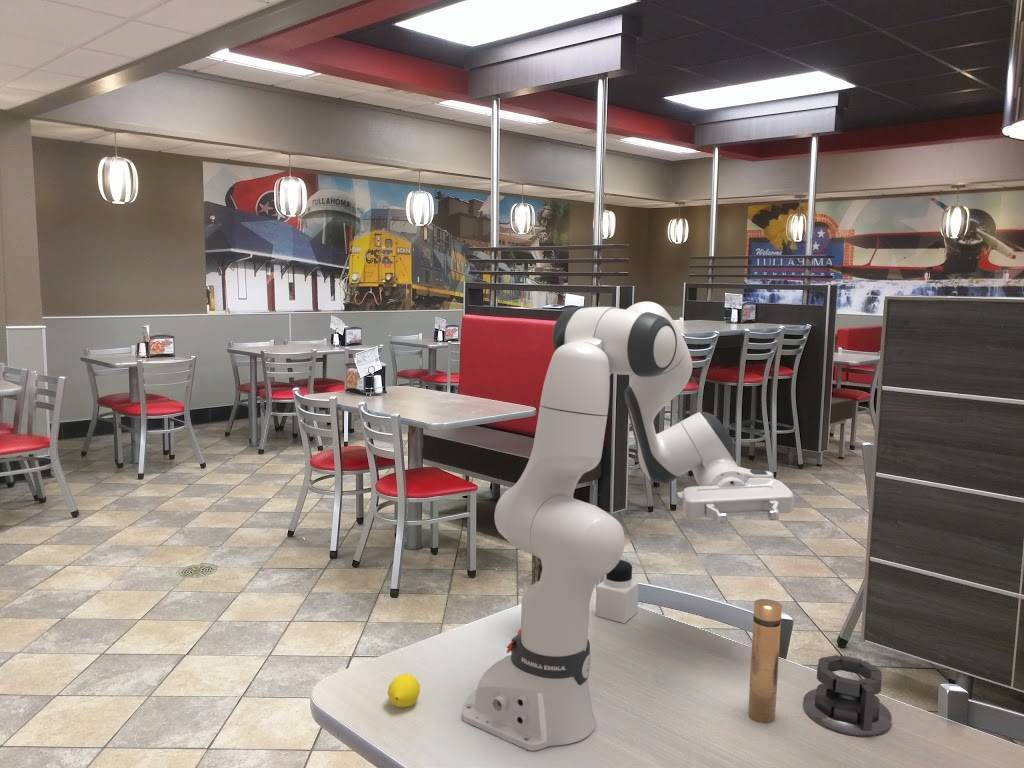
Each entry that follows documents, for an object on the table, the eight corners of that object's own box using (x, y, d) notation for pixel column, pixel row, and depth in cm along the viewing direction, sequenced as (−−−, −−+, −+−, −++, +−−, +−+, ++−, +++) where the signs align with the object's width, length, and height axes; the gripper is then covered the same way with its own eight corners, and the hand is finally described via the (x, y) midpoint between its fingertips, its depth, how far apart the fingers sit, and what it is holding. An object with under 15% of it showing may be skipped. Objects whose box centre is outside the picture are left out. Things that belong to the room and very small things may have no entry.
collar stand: (798, 723, 132) (801, 678, 131) (807, 685, 145) (810, 644, 144) (890, 745, 126) (894, 698, 125) (891, 704, 139) (894, 661, 138)
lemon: (396, 696, 140) (397, 666, 140) (424, 700, 139) (426, 670, 139) (380, 712, 133) (382, 680, 133) (410, 716, 132) (412, 684, 132)
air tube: (745, 718, 133) (752, 606, 131) (750, 706, 137) (756, 597, 135) (773, 725, 131) (780, 611, 129) (776, 712, 135) (783, 602, 133)
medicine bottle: (638, 612, 176) (639, 561, 174) (624, 624, 170) (626, 570, 168) (609, 605, 179) (610, 554, 178) (595, 616, 173) (596, 564, 172)
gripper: (674, 476, 153) (690, 504, 140) (779, 471, 153) (805, 498, 140) (674, 506, 155) (690, 537, 142) (778, 501, 155) (803, 531, 141)
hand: (748, 517), depth 141 cm, fingers open, 8 cm apart
